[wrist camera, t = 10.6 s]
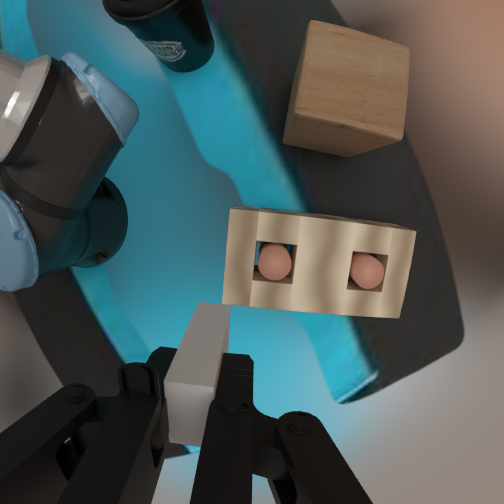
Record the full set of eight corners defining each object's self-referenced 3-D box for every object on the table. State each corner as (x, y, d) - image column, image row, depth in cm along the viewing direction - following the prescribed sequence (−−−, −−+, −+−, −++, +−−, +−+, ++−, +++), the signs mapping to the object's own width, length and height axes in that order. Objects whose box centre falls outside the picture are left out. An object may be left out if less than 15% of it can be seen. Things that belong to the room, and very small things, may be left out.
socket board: (228, 285, 49) (222, 303, 41) (235, 204, 47) (229, 208, 39) (380, 299, 49) (398, 318, 41) (393, 224, 46) (416, 231, 38)
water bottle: (146, 70, 43) (72, 5, 20) (171, 17, 41) (120, -65, 18) (205, 84, 43) (158, 10, 21) (230, 29, 41) (206, -64, 19)
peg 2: (338, 271, 47) (352, 287, 39) (342, 244, 46) (357, 256, 39) (363, 273, 47) (380, 290, 39) (367, 247, 46) (386, 259, 38)
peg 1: (257, 263, 47) (256, 278, 40) (260, 235, 47) (259, 246, 39) (285, 266, 47) (289, 281, 39) (288, 238, 47) (293, 249, 39)
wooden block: (348, 158, 45) (404, 142, 25) (281, 144, 45) (293, 114, 25) (358, 96, 43) (412, 46, 23) (292, 81, 43) (309, 17, 23)
